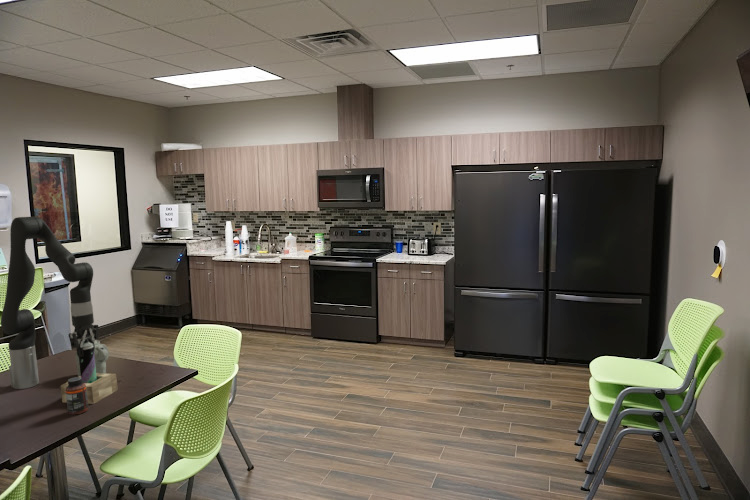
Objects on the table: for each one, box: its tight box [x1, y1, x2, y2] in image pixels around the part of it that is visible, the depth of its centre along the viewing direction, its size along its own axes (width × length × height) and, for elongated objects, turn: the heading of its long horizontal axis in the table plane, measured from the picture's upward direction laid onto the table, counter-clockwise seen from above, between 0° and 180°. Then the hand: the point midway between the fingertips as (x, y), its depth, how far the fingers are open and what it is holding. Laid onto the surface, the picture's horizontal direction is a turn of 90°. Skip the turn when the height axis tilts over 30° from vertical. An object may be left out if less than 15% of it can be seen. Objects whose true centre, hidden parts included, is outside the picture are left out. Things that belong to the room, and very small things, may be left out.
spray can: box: [79, 339, 97, 383], centre depth 205 cm, size 6×6×20 cm
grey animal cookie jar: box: [74, 338, 110, 377], centre depth 229 cm, size 16×15×19 cm
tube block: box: [60, 373, 118, 405], centre depth 207 cm, size 14×14×7 cm
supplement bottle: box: [66, 376, 89, 416], centre depth 191 cm, size 7×7×13 cm
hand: (86, 353), depth 205 cm, fingers closed on spray can, 5 cm apart
